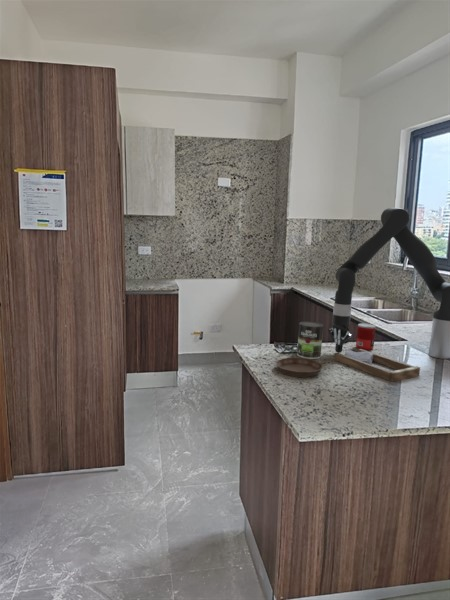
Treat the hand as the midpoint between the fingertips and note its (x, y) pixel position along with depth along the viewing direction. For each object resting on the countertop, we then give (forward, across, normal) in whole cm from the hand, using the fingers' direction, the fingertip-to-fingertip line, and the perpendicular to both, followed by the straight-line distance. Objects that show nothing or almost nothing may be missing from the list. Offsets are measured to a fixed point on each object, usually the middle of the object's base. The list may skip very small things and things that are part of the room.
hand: (338, 352), depth 202 cm
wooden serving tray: (+1, -19, 0) cm, 19 cm away
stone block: (+2, -12, 0) cm, 12 cm away
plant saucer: (+2, -10, +32) cm, 34 cm away
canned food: (+1, +3, -20) cm, 20 cm away
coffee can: (+1, +4, +14) cm, 15 cm away
